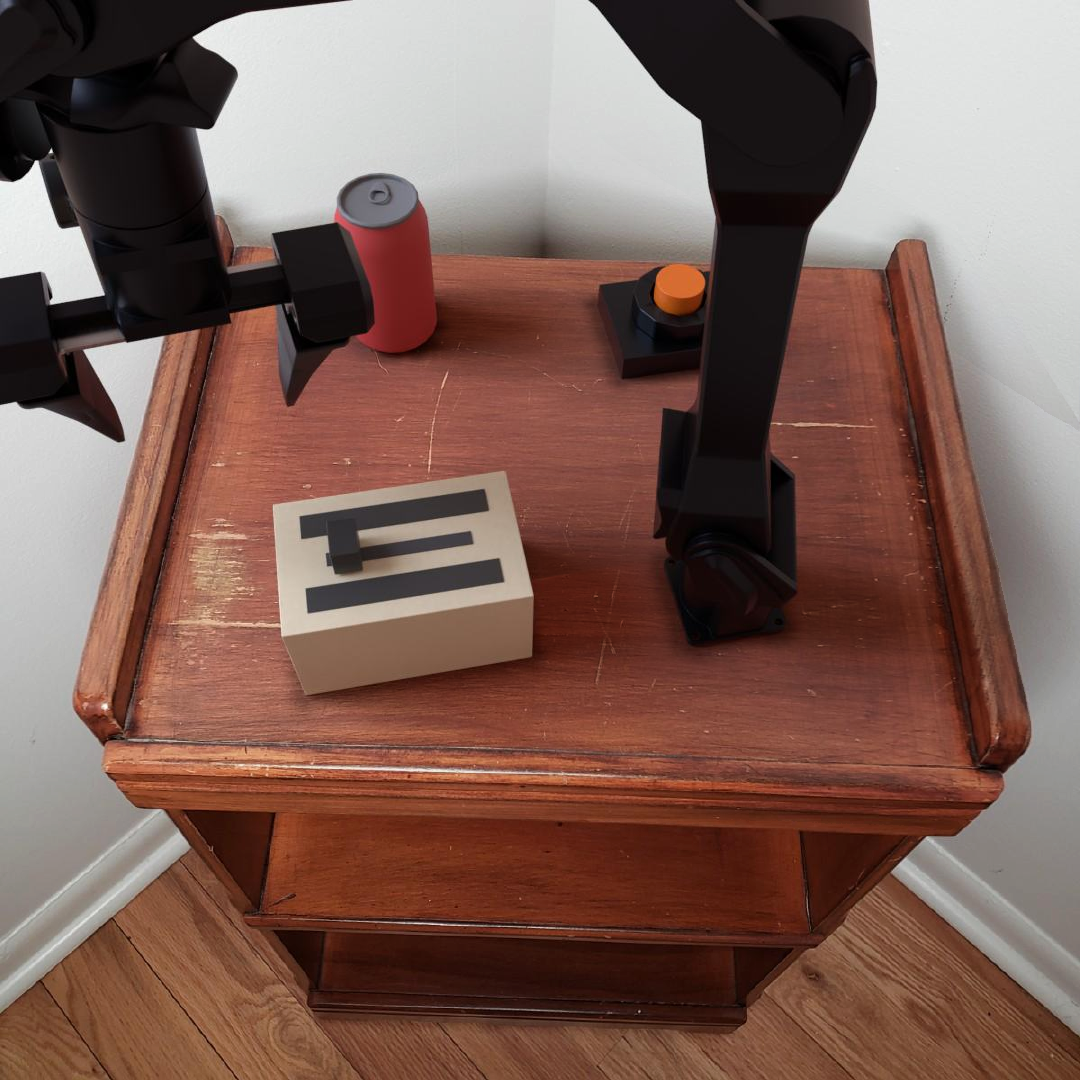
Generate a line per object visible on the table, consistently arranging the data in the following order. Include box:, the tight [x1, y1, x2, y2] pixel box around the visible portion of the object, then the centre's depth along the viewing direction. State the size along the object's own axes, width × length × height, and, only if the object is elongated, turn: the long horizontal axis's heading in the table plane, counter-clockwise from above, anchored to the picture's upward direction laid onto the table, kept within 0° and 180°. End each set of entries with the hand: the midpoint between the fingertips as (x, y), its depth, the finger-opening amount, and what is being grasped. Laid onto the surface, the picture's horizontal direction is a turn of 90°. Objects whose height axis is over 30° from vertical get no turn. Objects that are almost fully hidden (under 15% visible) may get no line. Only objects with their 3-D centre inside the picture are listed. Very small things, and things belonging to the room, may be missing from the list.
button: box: [654, 263, 705, 315], centre depth 75 cm, size 4×4×2 cm
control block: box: [597, 264, 710, 380], centre depth 77 cm, size 8×10×4 cm
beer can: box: [333, 172, 438, 354], centre depth 74 cm, size 7×7×12 cm
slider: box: [326, 517, 363, 575], centre depth 57 cm, size 2×2×2 cm
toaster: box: [272, 470, 535, 696], centre depth 62 cm, size 9×14×8 cm, turn 101°
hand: (206, 417), depth 57 cm, fingers open, 9 cm apart
